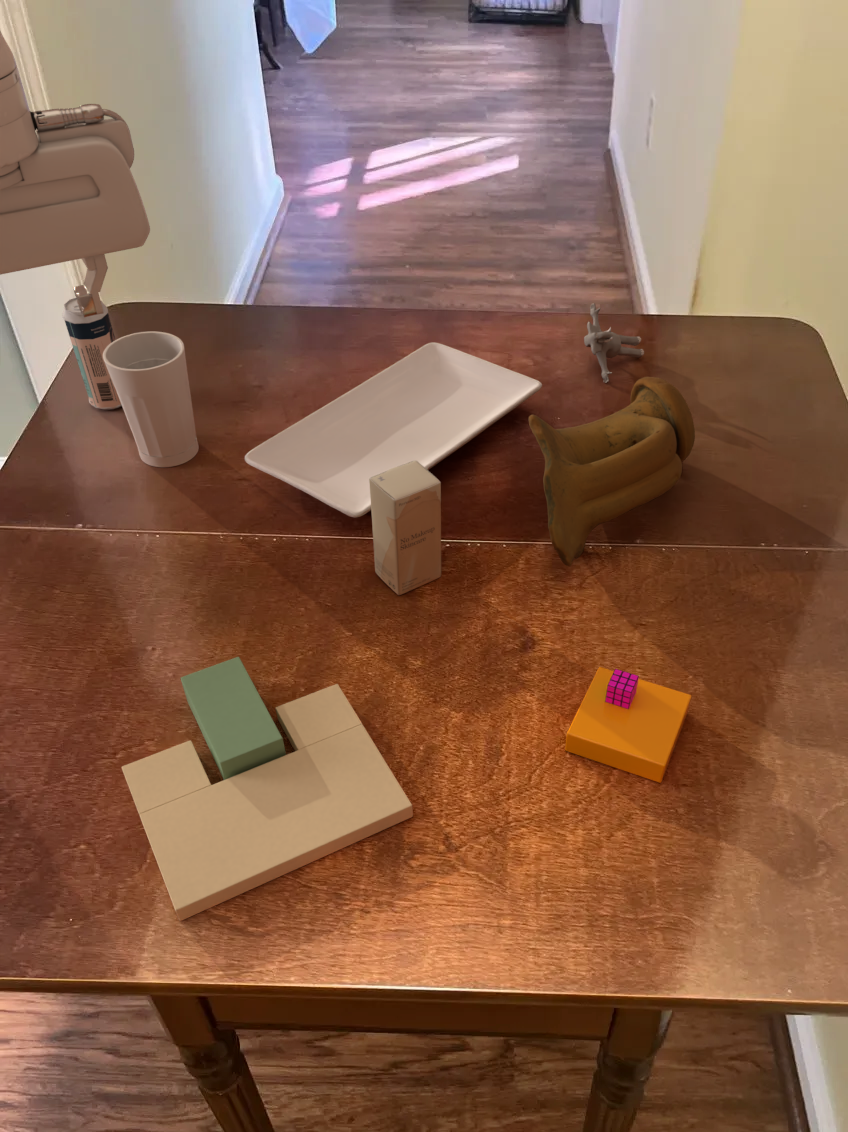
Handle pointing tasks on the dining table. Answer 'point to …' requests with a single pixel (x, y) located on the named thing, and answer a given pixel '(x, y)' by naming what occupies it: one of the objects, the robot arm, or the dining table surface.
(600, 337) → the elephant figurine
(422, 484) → the box
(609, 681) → the orange square pedestal
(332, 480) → the tray
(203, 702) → the pad
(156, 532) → the dining table surface
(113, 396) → the beer can
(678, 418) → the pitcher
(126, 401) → the cup
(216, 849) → the beige notched block
